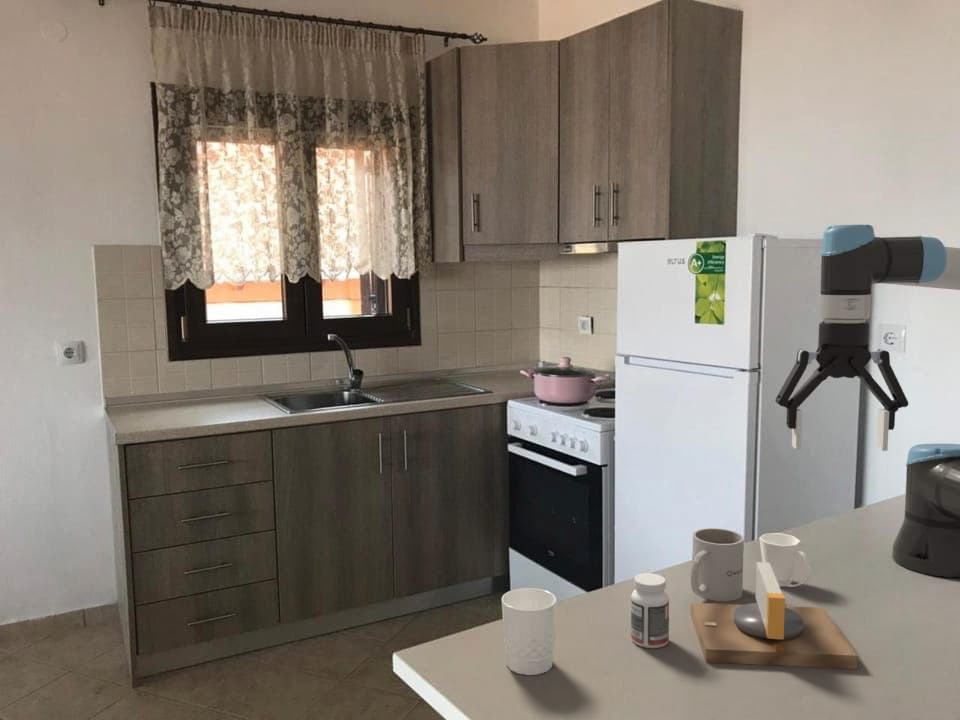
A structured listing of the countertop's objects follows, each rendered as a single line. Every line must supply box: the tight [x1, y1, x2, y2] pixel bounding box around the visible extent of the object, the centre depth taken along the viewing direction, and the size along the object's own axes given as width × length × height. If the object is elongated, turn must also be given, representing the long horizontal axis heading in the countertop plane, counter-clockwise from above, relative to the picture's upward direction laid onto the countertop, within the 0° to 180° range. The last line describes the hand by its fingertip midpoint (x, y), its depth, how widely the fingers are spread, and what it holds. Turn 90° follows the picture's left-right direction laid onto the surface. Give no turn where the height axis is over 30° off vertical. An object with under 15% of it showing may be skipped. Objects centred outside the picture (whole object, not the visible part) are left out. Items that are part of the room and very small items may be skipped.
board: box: [690, 602, 858, 670], centre depth 123 cm, size 21×16×2 cm
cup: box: [758, 532, 812, 588], centre depth 144 cm, size 7×10×8 cm
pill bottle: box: [630, 572, 670, 649], centre depth 123 cm, size 6×6×10 cm
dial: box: [734, 561, 803, 640], centre depth 123 cm, size 14×10×7 cm
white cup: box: [501, 587, 557, 676], centre depth 117 cm, size 8×8×10 cm
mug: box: [690, 527, 745, 602], centre depth 140 cm, size 12×9×10 cm
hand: (838, 448), depth 133 cm, fingers open, 13 cm apart
